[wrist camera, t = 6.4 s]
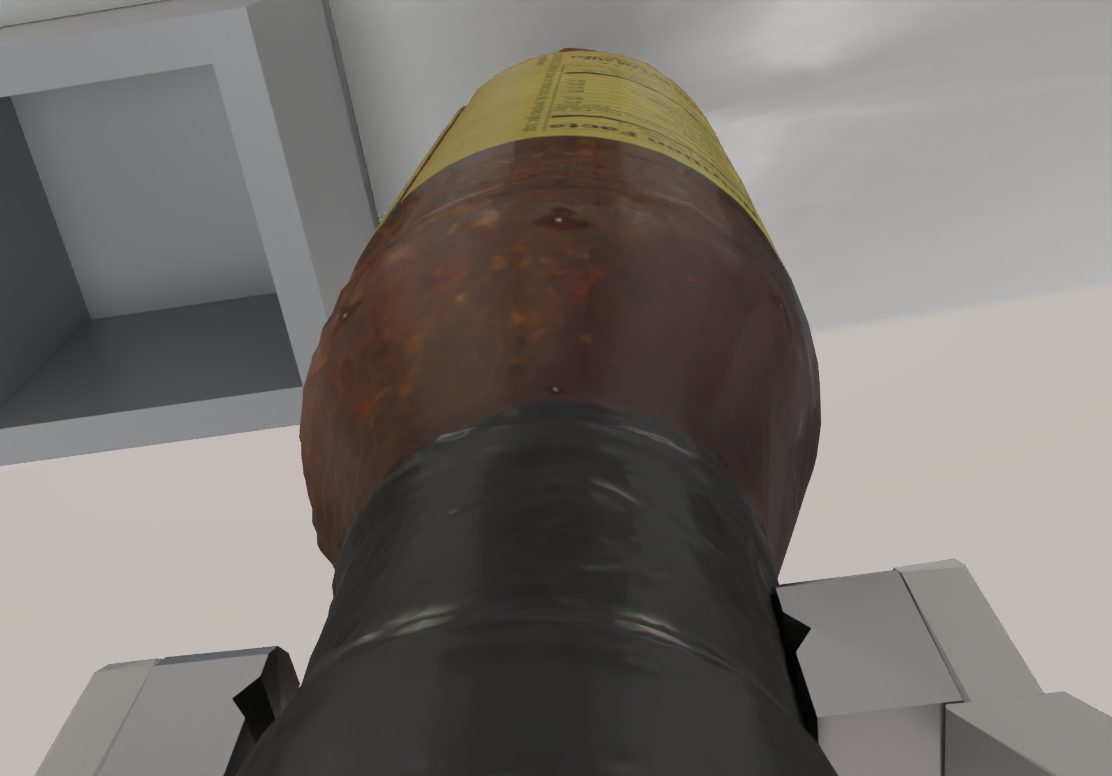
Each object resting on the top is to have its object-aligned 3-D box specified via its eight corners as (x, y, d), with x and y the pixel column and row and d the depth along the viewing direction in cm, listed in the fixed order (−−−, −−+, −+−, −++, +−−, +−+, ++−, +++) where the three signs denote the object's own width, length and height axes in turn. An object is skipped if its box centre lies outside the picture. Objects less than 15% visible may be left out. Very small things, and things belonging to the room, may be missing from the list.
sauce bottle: (576, 363, 26) (463, 1505, 8) (384, 175, 24) (-336, 1084, 6) (794, 180, 23) (1345, 1189, 5) (600, -43, 22) (478, 370, 4)
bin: (322, -26, 36) (245, 6, 27) (396, 297, 40) (352, 417, 31) (-34, 32, 36) (-226, 83, 27) (81, 343, 41) (-49, 472, 32)
